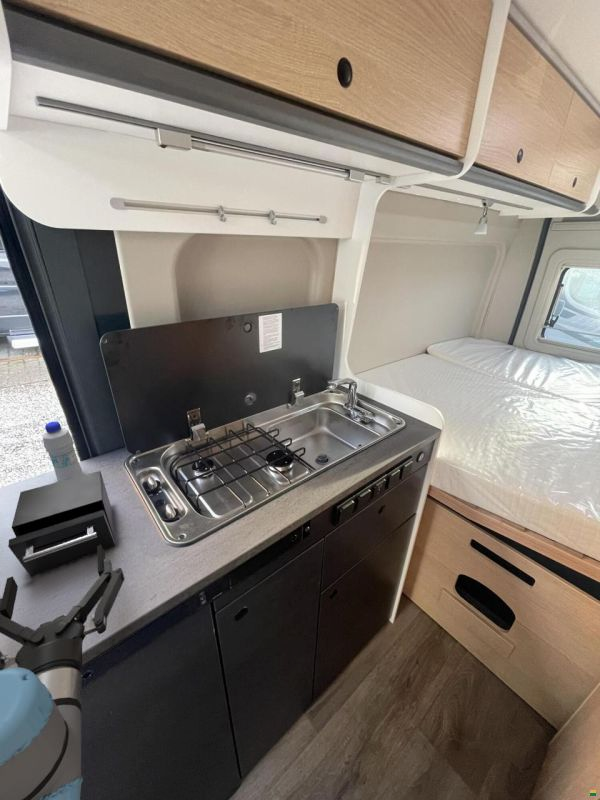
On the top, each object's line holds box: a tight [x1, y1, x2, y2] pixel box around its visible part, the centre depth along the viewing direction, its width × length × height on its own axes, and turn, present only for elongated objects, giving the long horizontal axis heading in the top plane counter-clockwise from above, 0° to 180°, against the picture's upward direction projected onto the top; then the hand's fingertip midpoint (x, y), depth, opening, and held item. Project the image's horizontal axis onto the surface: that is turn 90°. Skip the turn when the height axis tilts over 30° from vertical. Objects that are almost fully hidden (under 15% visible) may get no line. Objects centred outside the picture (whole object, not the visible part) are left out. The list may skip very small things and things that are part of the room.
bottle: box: [42, 421, 84, 482], centre depth 94 cm, size 7×7×20 cm
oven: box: [11, 470, 116, 541], centre depth 77 cm, size 12×16×13 cm
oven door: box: [7, 510, 116, 578], centre depth 69 cm, size 5×16×13 cm, turn 121°
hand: (59, 565), depth 61 cm, fingers open, 13 cm apart
